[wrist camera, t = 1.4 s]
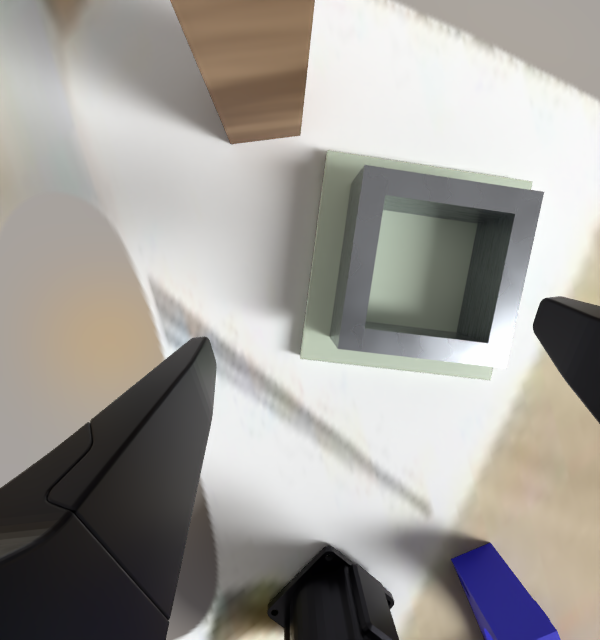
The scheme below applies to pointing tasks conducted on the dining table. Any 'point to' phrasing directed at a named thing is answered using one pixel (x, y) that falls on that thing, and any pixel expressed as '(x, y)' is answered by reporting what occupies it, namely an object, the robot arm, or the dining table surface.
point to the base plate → (393, 269)
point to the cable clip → (500, 598)
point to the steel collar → (483, 275)
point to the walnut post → (251, 61)
